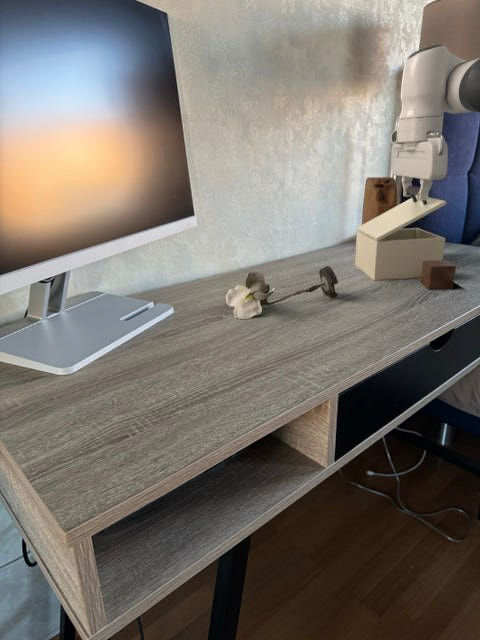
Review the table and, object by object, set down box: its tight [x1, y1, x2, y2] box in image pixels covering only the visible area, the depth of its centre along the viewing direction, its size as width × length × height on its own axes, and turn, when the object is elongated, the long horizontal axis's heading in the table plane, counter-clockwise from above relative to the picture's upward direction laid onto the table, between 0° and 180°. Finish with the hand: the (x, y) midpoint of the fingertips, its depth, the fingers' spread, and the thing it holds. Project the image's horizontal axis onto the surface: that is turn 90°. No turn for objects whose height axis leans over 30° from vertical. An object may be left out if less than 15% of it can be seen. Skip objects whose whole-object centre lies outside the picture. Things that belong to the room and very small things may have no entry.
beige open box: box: [354, 227, 446, 281], centre depth 106 cm, size 16×14×9 cm
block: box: [361, 176, 398, 225], centre depth 129 cm, size 11×8×20 cm
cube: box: [420, 259, 457, 291], centre depth 94 cm, size 5×5×5 cm
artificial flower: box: [225, 265, 340, 320], centre depth 86 cm, size 9×22×10 cm, turn 107°
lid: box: [356, 185, 447, 241], centre depth 102 cm, size 16×14×5 cm
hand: (414, 198), depth 102 cm, fingers closed on lid, 6 cm apart
